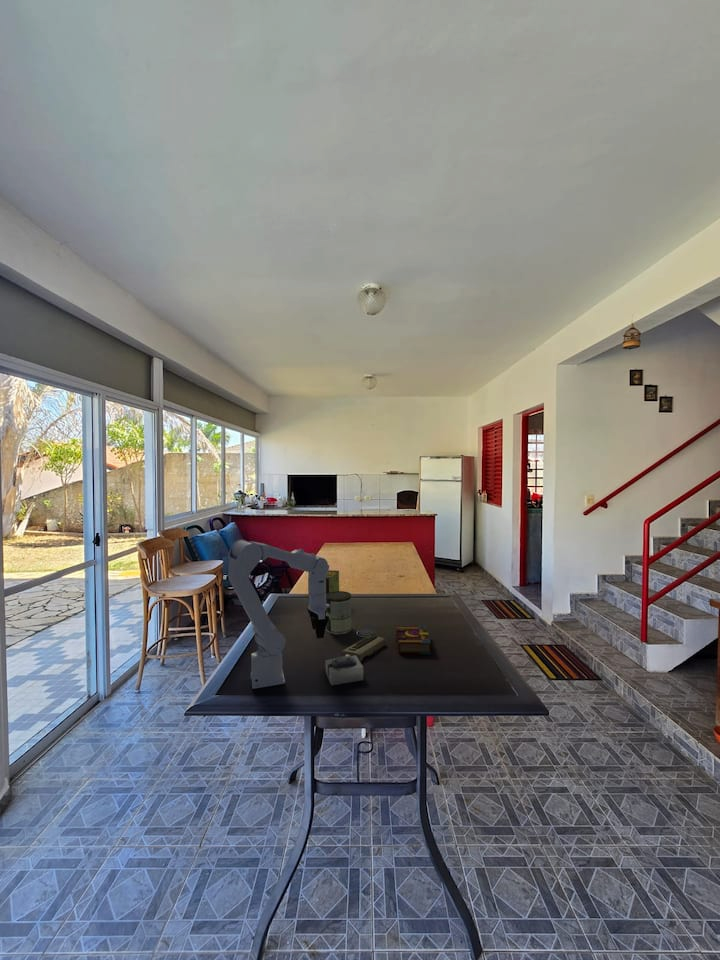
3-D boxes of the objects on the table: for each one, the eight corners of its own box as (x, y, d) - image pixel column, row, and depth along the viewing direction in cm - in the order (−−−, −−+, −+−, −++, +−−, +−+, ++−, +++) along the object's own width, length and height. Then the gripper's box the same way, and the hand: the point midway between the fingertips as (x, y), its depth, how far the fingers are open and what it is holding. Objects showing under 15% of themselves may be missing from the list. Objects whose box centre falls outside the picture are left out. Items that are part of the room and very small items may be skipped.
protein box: (339, 601, 192) (339, 570, 192) (329, 612, 177) (329, 578, 177) (319, 600, 195) (319, 569, 194) (308, 611, 180) (307, 577, 180)
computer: (368, 641, 148) (368, 632, 148) (386, 646, 143) (386, 637, 143) (341, 657, 135) (341, 647, 135) (360, 663, 131) (360, 653, 131)
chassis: (331, 685, 116) (331, 672, 116) (325, 672, 124) (325, 659, 124) (363, 679, 119) (363, 666, 119) (356, 667, 127) (355, 655, 127)
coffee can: (320, 630, 157) (320, 596, 157) (336, 622, 165) (336, 589, 165) (341, 636, 151) (340, 600, 151) (356, 628, 159) (356, 593, 159)
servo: (332, 679, 119) (332, 660, 119) (330, 674, 122) (329, 655, 122) (356, 675, 121) (356, 656, 121) (353, 670, 124) (353, 652, 124)
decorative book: (398, 655, 136) (397, 641, 136) (395, 636, 152) (395, 623, 152) (431, 655, 135) (430, 641, 135) (425, 636, 151) (425, 623, 151)
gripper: (334, 597, 124) (334, 640, 125) (324, 585, 138) (325, 623, 138) (311, 600, 122) (312, 643, 122) (304, 587, 136) (305, 626, 136)
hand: (318, 633), depth 130 cm, fingers open, 7 cm apart
